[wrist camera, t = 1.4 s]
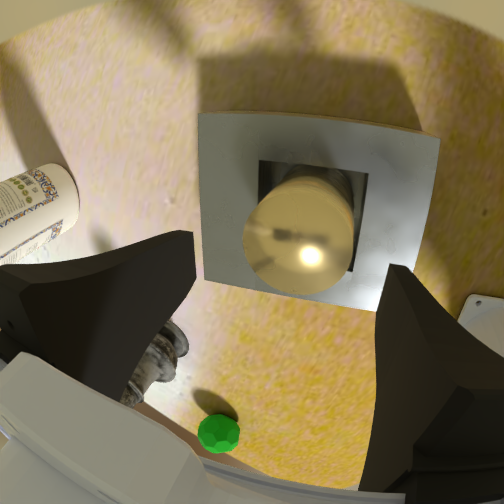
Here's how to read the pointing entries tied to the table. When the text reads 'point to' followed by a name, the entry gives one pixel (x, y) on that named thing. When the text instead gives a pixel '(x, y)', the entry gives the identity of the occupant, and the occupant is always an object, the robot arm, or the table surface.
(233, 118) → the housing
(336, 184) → the plug
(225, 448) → the polyhedron
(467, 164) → the table surface
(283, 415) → the table surface
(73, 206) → the bath foam
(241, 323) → the table surface
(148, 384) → the grey chess piece
